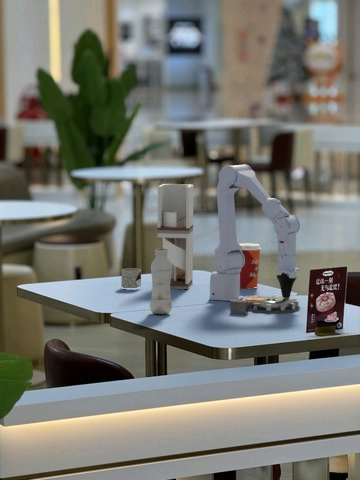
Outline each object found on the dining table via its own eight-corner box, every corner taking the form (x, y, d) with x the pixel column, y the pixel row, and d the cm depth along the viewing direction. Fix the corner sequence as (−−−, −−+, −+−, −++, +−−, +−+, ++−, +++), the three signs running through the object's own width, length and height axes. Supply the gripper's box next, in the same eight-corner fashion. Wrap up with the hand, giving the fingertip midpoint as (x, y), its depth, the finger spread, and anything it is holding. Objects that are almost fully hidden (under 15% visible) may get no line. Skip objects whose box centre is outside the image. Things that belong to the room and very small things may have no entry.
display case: (162, 283, 431) (163, 183, 426) (192, 284, 429) (193, 184, 425) (157, 288, 420) (157, 186, 415) (188, 290, 418) (189, 187, 414)
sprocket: (257, 312, 376) (257, 296, 376) (235, 302, 392) (236, 287, 391) (307, 308, 382) (308, 294, 381) (284, 299, 398) (284, 285, 397)
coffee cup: (258, 290, 420) (259, 246, 418) (234, 289, 421) (235, 245, 419) (261, 286, 428) (262, 243, 426) (238, 285, 429) (239, 242, 427)
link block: (230, 314, 378) (230, 300, 377) (232, 312, 380) (233, 298, 380) (245, 315, 376) (246, 301, 375) (248, 313, 379) (248, 300, 378)
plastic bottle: (149, 312, 379) (149, 247, 376) (171, 311, 379) (171, 247, 377) (150, 316, 372) (150, 250, 370) (172, 316, 373) (173, 250, 370)
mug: (140, 290, 416) (140, 271, 415) (120, 290, 416) (120, 271, 415) (141, 285, 426) (141, 266, 425) (122, 285, 426) (122, 266, 425)
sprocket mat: (232, 310, 382) (232, 308, 382) (248, 301, 399) (248, 298, 399) (292, 315, 376) (292, 312, 376) (305, 305, 393) (305, 302, 393)
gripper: (305, 257, 378) (305, 301, 380) (292, 251, 393) (291, 293, 394) (283, 258, 377) (283, 301, 379) (271, 251, 391) (270, 293, 393)
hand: (286, 297), depth 386 cm, fingers closed
